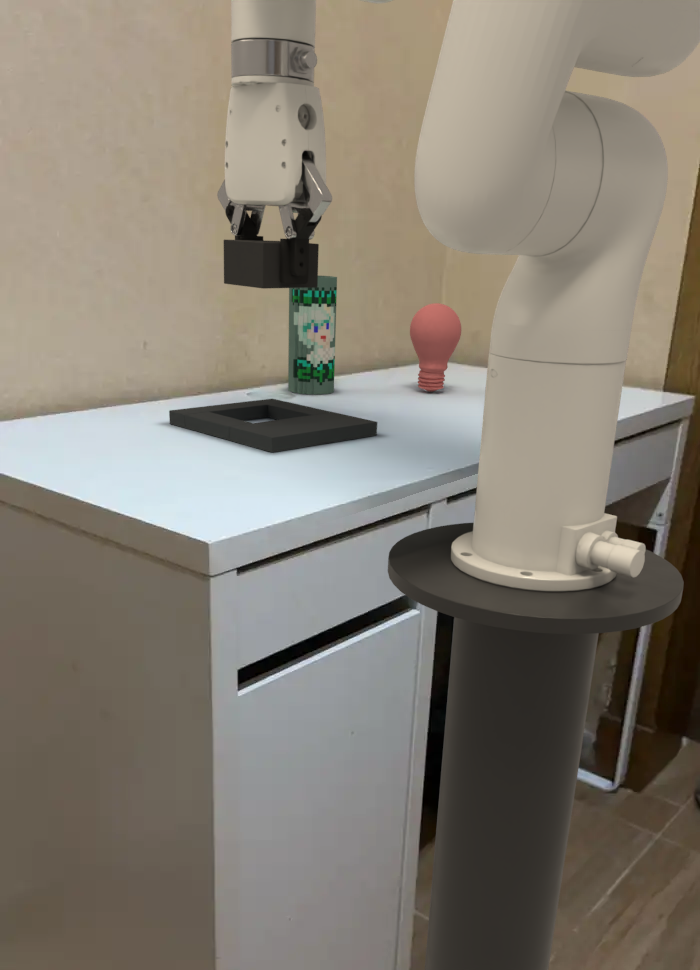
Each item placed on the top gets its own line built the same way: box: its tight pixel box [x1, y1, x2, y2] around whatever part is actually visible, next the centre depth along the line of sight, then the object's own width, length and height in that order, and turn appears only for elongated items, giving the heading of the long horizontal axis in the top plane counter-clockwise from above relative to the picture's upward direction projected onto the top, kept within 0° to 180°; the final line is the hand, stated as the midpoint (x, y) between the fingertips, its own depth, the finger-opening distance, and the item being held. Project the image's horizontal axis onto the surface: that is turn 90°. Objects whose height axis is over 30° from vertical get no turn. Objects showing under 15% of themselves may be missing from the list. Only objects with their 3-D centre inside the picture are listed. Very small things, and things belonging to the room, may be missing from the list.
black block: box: [223, 239, 320, 290], centre depth 91 cm, size 6×7×4 cm
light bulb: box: [409, 302, 462, 393], centre depth 130 cm, size 7×7×12 cm
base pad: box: [168, 398, 378, 453], centre depth 104 cm, size 18×15×2 cm
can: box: [287, 275, 338, 396], centre depth 127 cm, size 6×6×15 cm
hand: (271, 279), depth 92 cm, fingers closed on black block, 6 cm apart
